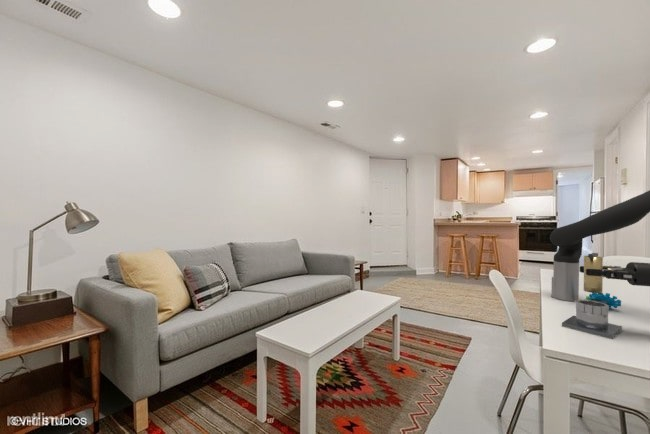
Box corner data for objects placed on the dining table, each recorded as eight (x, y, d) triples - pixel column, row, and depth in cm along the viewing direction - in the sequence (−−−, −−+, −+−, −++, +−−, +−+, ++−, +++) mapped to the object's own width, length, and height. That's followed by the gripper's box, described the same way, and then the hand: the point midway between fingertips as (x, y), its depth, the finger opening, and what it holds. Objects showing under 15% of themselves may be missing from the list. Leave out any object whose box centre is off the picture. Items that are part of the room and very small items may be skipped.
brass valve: (580, 291, 102) (581, 253, 102) (586, 288, 106) (587, 252, 106) (599, 294, 98) (599, 255, 98) (604, 291, 102) (605, 253, 102)
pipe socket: (561, 326, 104) (562, 301, 103) (573, 318, 111) (573, 296, 111) (612, 339, 93) (613, 312, 93) (621, 329, 101) (622, 304, 101)
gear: (626, 307, 120) (616, 291, 118) (623, 319, 118) (613, 303, 115) (592, 303, 130) (582, 288, 128) (589, 314, 128) (578, 300, 125)
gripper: (637, 260, 103) (575, 257, 109) (663, 266, 89) (591, 262, 96) (636, 281, 103) (575, 277, 109) (663, 291, 89) (591, 285, 96)
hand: (583, 270), depth 103 cm, fingers closed on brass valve, 4 cm apart
